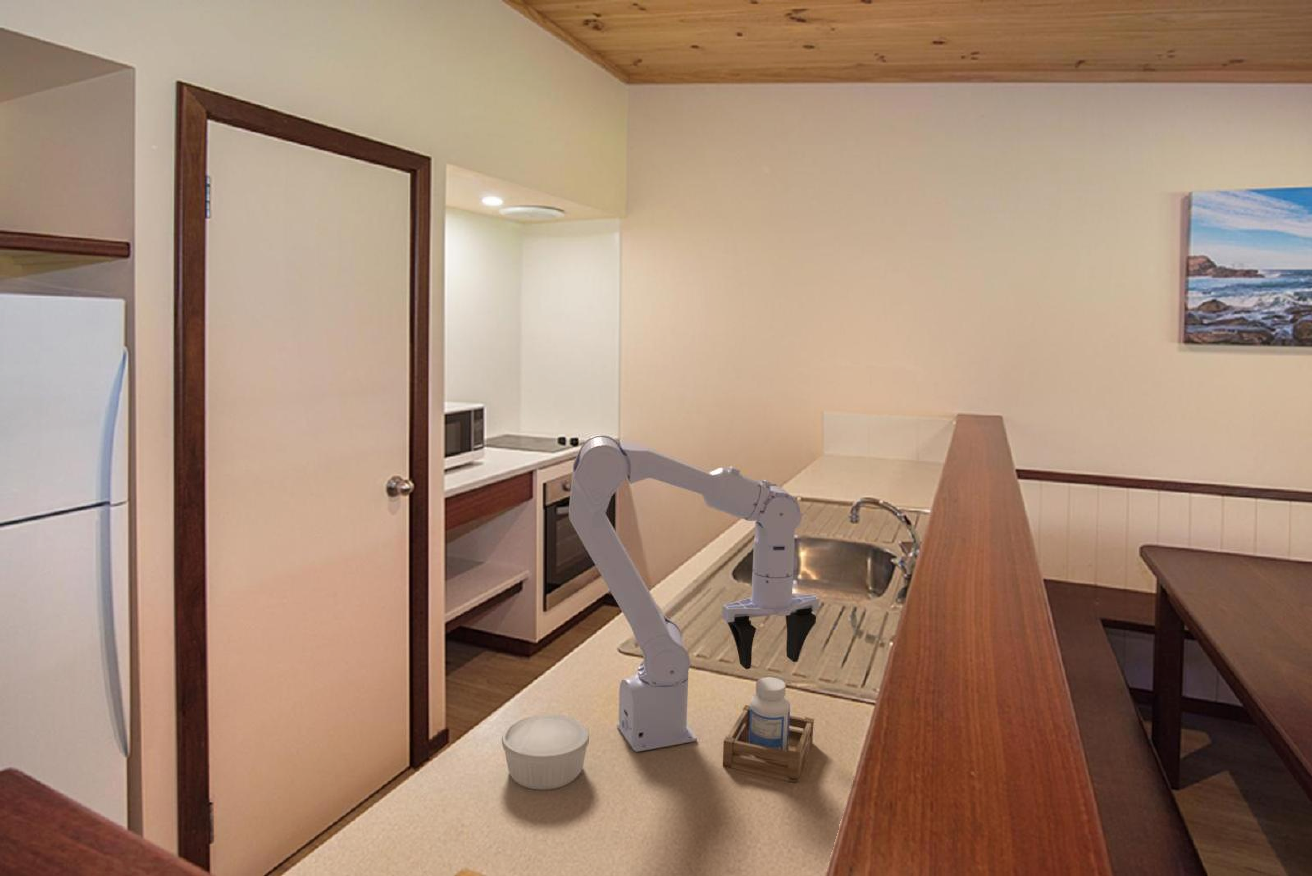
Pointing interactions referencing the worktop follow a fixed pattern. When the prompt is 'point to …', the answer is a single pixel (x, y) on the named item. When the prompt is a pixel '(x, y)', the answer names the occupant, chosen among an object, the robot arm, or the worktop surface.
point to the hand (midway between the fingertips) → (768, 662)
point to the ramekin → (545, 750)
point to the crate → (768, 750)
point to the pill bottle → (770, 715)
